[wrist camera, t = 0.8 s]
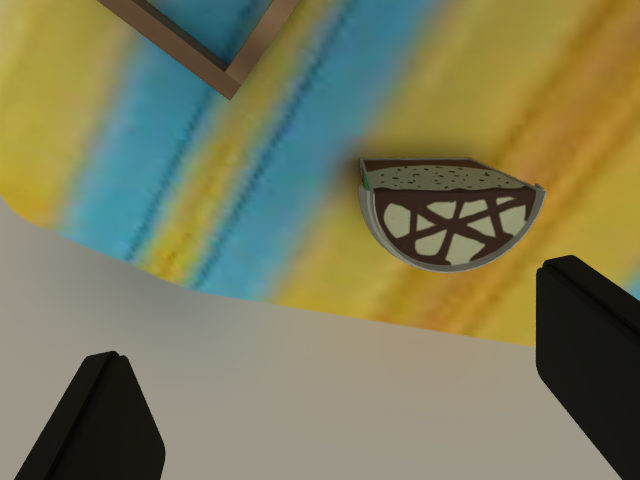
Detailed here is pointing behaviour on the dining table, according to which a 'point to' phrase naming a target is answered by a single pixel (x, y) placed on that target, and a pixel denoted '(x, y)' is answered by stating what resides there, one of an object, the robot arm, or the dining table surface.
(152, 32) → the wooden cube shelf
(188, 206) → the dining table surface
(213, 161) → the dining table surface
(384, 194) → the food container
